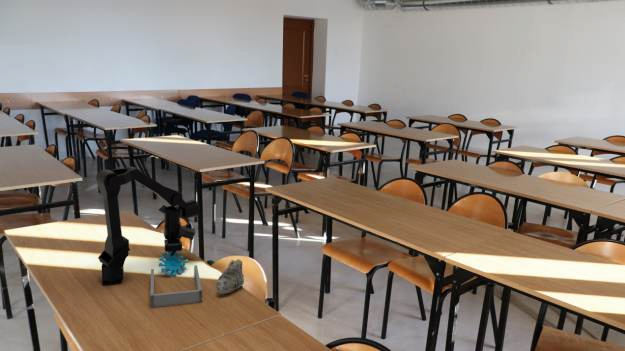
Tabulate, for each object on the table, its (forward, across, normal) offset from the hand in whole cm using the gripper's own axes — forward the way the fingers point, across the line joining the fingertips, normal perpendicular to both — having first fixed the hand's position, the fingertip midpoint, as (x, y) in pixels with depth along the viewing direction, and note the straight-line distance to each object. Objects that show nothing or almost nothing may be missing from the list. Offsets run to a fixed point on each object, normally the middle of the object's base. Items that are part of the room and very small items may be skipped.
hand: (173, 259), depth 180 cm
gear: (+2, -8, 0) cm, 9 cm away
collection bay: (+2, -23, 0) cm, 23 cm away
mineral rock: (+2, -25, -18) cm, 31 cm away
